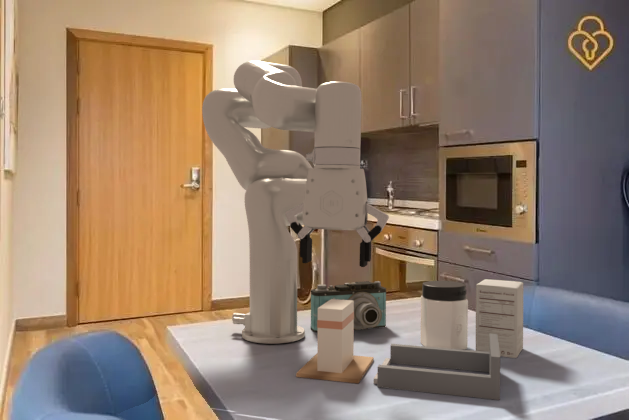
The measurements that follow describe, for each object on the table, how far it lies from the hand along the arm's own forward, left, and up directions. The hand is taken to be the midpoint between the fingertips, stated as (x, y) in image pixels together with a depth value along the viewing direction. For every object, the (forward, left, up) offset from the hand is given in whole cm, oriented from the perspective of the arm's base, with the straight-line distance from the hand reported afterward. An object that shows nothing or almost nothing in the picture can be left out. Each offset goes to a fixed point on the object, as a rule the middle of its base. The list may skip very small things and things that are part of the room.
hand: (334, 264), depth 89 cm
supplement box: (+27, +19, -17) cm, 37 cm away
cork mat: (+1, 0, -17) cm, 17 cm away
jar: (+16, +19, -17) cm, 30 cm away
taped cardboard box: (0, 0, -17) cm, 17 cm away
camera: (-2, +24, -18) cm, 30 cm away
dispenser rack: (+16, 0, -17) cm, 24 cm away
